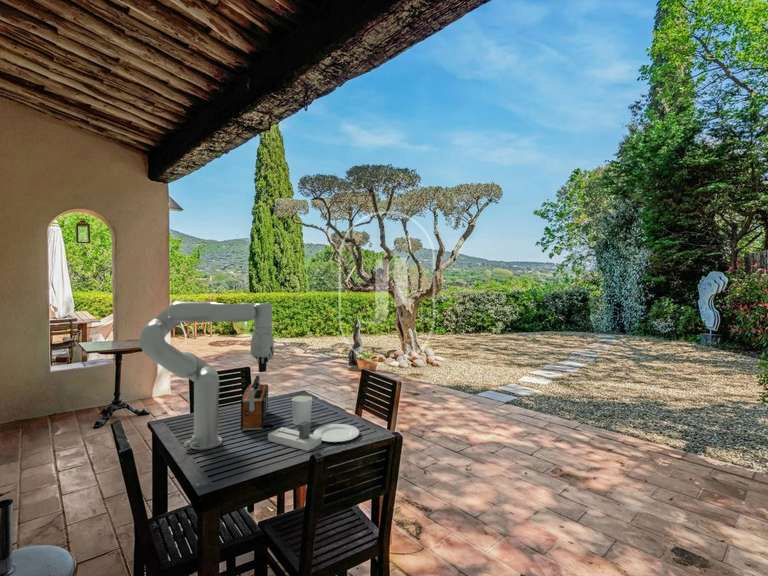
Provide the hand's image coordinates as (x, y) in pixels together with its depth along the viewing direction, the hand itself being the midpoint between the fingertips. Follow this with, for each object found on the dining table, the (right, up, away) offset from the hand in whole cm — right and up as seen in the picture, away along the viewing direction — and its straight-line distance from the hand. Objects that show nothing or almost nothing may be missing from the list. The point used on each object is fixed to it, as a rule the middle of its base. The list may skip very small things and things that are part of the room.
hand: (262, 371), depth 180 cm
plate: (+33, -30, +3) cm, 45 cm away
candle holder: (+14, -29, +18) cm, 37 cm away
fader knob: (+20, -26, -8) cm, 34 cm away
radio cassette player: (-9, -29, +19) cm, 36 cm away
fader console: (+16, -30, -5) cm, 34 cm away
